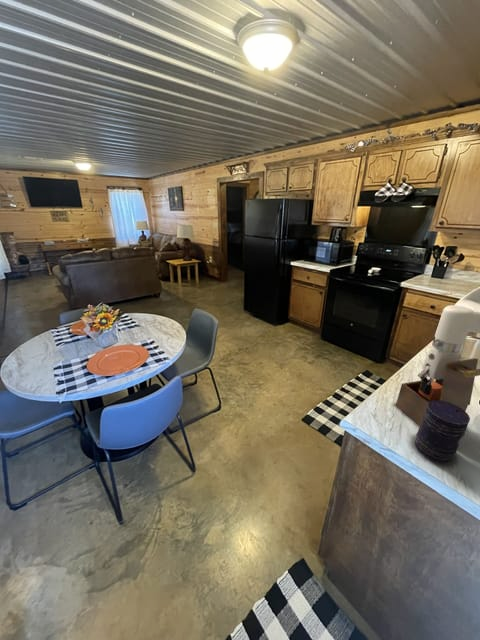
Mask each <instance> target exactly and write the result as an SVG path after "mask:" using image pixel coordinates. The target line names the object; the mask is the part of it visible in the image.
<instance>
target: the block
mask: <svg viewBox="0 0 480 640" xmlns="http://www.w3.org/2000/svg"><path fill="white" fill-rule="evenodd" d="M431 385H432V387H431V390H430V393H429V395H426V394H425V393H423V392H422V391H420V389H419V392H418V393H420V394H421V395H422V396H424V397H425V398H427V399H428V400H429V401H432V400H437V399H440V397H441V390H442V386H441V385H440V384H438V383H437V382H435V380H433V382H432V383H431Z"/></svg>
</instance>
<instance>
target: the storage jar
mask: <svg viewBox="0 0 480 640" xmlns="http://www.w3.org/2000/svg"><path fill="white" fill-rule="evenodd" d="M470 421H471V417H470V415H469V413H467V412H466V411H464V410H463V409H461V408H460V407H458V406H456V405H454V404H452V403H450V402H446V401H442V400H432V401H430V402H429V403H428V405H427V408H426V410H425V412H424V415H423V422H422V425H421V426H419V428H418V430H417V432H416V436H415V439H414V444H413V445H414V447H415V449H416V450H417V452H418V453H419V454H420V455H422V456H423V457H424V458H426V459H427V460H429V461H431V462H433V463H436V464H441V465H447V464H450V463H451V462H452V461H453V459H454V457H455V455H456V454H457V451H458V449H459V444H460V440H461V439H462V438H463V437H464V436H465V433H466V432H467V429H468V426H469V423H470Z"/></svg>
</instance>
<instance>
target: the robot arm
mask: <svg viewBox="0 0 480 640" xmlns="http://www.w3.org/2000/svg"><path fill="white" fill-rule="evenodd" d="M469 333H475V334H480V286H479V287H476V288H474V289H473V290H471V291H469V292H468V293H466V295H464V296H463V297H461V298H460V299H459V300H458V301H457V302H456V303H454V304H451V305H446V306H445V307H444V308H443V310H442V312H441V316H440V318H439V321H438V325H437V328H436V331H435V333H434V337H433V340H432V343H431V346H430V348H429V349H428V352H427V354H426V355H425V358H424V360H423V363H422V367H421V371H420V372H419V373H418V374H417V377H418V378H419V379H420V381H422V383H421V386H420V391H422V392H423V393H425V394H426V395H429V393H430V390H431V387H432V385H431V383H432V382H433V381H435V382H437V383H438V384H440V385H441V386H442V384H443V377H444V371H445V364H446V363H449V362H455V361H461V360H462V356H463V347H464V345H465V343H466V340H467V337H468V334H469ZM428 378H429V379H428Z"/></svg>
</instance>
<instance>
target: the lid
mask: <svg viewBox="0 0 480 640" xmlns="http://www.w3.org/2000/svg"><path fill="white" fill-rule="evenodd" d="M478 362H479V358H476V357H474V358H468V359H461V361H455V362H449V363H446V364H445V371H444V377H443V384H442V390H441V397H440V400H442V401H446V402H450V403H452V404H454V405H456V406H458V407H462V406H467V405H468V406H470V405H471V401H472V395H473V390H474V384H475V380H476V379H475V378H476V377H479V376H480V368H477V367H478Z"/></svg>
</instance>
